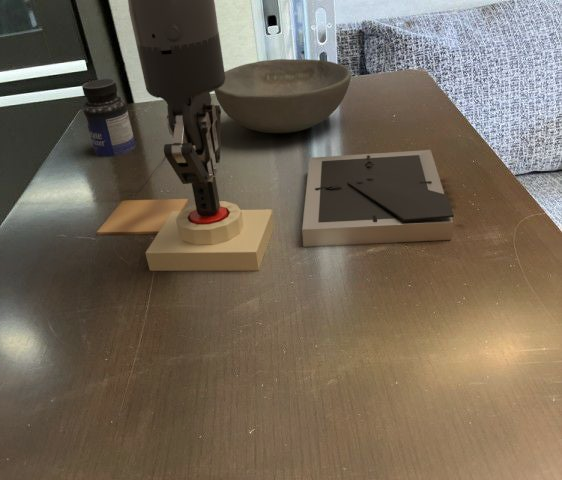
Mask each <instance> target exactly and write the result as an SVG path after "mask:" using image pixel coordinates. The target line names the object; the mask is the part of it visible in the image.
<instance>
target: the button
mask: <svg viewBox="0 0 562 480" xmlns="http://www.w3.org/2000/svg"><path fill="white" fill-rule="evenodd" d="M227 217H228V215H227V210H226V209H225V208H224V207H221V206H220V208H219V210H218V212H217V214H216V215H215V216H200V215H199V214H198V213H197V209H196V210H194V211H193V212H192V213H191V214H190V219H191V223H194V224H197V225H206V224H212V223H216V222H220V221H222V220H224V219H225V218H227Z"/></svg>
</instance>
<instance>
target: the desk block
mask: <svg viewBox="0 0 562 480" xmlns="http://www.w3.org/2000/svg"><path fill="white" fill-rule="evenodd" d="M219 202H220V206H221V207H224V208H225V209H226V210H227V215H228V217H227V218H225V219H224V220H222V221H220V222H216V223H212V224H206V225H197V224H194V223H191V219H190V214H191V213H192V212H193V211H194V210H196V204H192V205H190V206H188V207H187V208H184V210H183V211H173V212H172V213H171V214H170V216H169V217H168V219H167V221H166V222H165V224H164V225H163V227H162V228H161V230H160V231H159V233H158V234H156V236H155V238H154V239H153V240H152V242H151V243H150V245H149V246H148V248H147V249H146V251H145V253H144V254H145V258H146V261H147V265H148V270H149V271H150V272H158V271H159V272H174V271H176V272H177V271H178V272H179V271H181V272H183V271H184V272H186V271H187V272H195V271H196V272H197V271H198V272H201V271H202V272H203V271H204V272H205V271H206V272H207V271H209V272H210V271H213V272H214V271H216V272H218V271H219V272H221V271H227V272H230V271H233V272H235V271H237V272H238V271H247V272H248V271H251V272H252V271H254V272H255V271H259V270H260V268H261V265H262V262H263V259H264V257H265V254H266V251H267V249H268V246H269V244H270V240H271V237H272V234H273V232H274V229H275V217H274V210H273V209H271V208H269V209H241V208H240V207H239V206H238V205H237V204H236V203H233V202H229V201H225V200H221V201H220V200H219Z"/></svg>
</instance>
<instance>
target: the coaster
mask: <svg viewBox="0 0 562 480" xmlns="http://www.w3.org/2000/svg"><path fill="white" fill-rule="evenodd" d="M188 204H189V198H171V199H168V198H167V199H129V200H128V199H127V200H124V199H123V200H122V201H121V202H120V203H119V204H118V206H116V208H115V209H114V210H113V212H112V213H111V214H110V215H109V216H108V218H107V219H106V220H105V222H104V223H102V225H101V226H100V227H99V228H98V230H97V231H96V234H97V236H122V235H123V236H125V235H126V236H129V235H130V236H131V235H132V236H133V235H157V234H158V233H159V231H160V230H161V228H162V227H163V225H164V224H165V222H166V221H167V219H168V217H169V216H170V214H171V213H172V212H173V211H183V210H185V209H186V207H187V205H188Z"/></svg>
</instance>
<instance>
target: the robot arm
mask: <svg viewBox="0 0 562 480" xmlns="http://www.w3.org/2000/svg"><path fill="white" fill-rule="evenodd" d="M127 4H128V12H129V17H130V21H131V22H130V23H131V26H132V30H133V35H134V40H135V45H136V48H137V49H136V50H137V53H138V58H139V63H140V68H141V71H142V76H143V80H144V85H145V90H146V91H147V93H148V94H149V95H150V96H152V97H154V98H157V99H158V98H159V99H162V100H163V101H164V102H166V104H167V106H166V107H167V115H166V125H167V129H168V132H169V135H170V136H172V143H165V144H164V145H163V154H164V157H165V158H166V160H167V161H168V163H169V165H170V166H171V168H172V169H173V171H174V172H175V174H176V175H177V177H178V180H179V181H180V182H181V184H182V185H189V184H191V187H192V194H193V197H194V205H196V209H197V213H198V214H199V215H200V216H215V215H216V214H217V212H218V210H219V208H220V202H219V201H220V196H219V190H218V186H217V185H218V184H217V178H216V176H217V174H218V167H217V164H220V160H221V114H222V108H221V106H220V104H212V96H211V93H213V92H214V91H215V90H217V89H218V88H220V87H221V86H222V85H223V84H224V82H225V66H224V58H223V51H222V45H221V44H222V43H221V38H220V31H219V23H218V17H217V9H216V3H215V0H127Z"/></svg>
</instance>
